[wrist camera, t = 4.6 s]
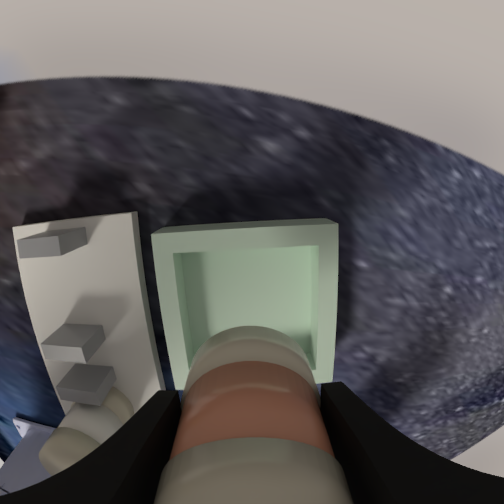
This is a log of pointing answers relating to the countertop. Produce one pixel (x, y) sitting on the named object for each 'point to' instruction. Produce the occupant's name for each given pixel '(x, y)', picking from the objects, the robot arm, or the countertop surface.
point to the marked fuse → (251, 427)
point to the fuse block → (90, 307)
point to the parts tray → (248, 285)
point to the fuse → (84, 431)
